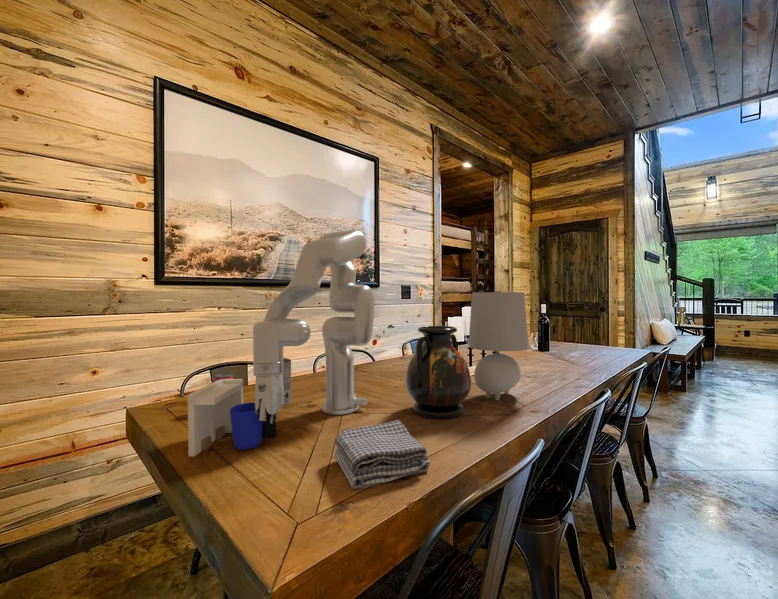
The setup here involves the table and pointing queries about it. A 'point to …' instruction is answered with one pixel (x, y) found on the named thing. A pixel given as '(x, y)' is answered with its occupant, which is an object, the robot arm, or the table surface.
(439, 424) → the table surface
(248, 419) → the mug
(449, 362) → the amphora vase
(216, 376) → the beer can
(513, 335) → the table lamp
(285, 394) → the coffee box
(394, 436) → the towel
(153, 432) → the table surface
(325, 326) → the robot arm
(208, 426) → the shelf
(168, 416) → the table surface
